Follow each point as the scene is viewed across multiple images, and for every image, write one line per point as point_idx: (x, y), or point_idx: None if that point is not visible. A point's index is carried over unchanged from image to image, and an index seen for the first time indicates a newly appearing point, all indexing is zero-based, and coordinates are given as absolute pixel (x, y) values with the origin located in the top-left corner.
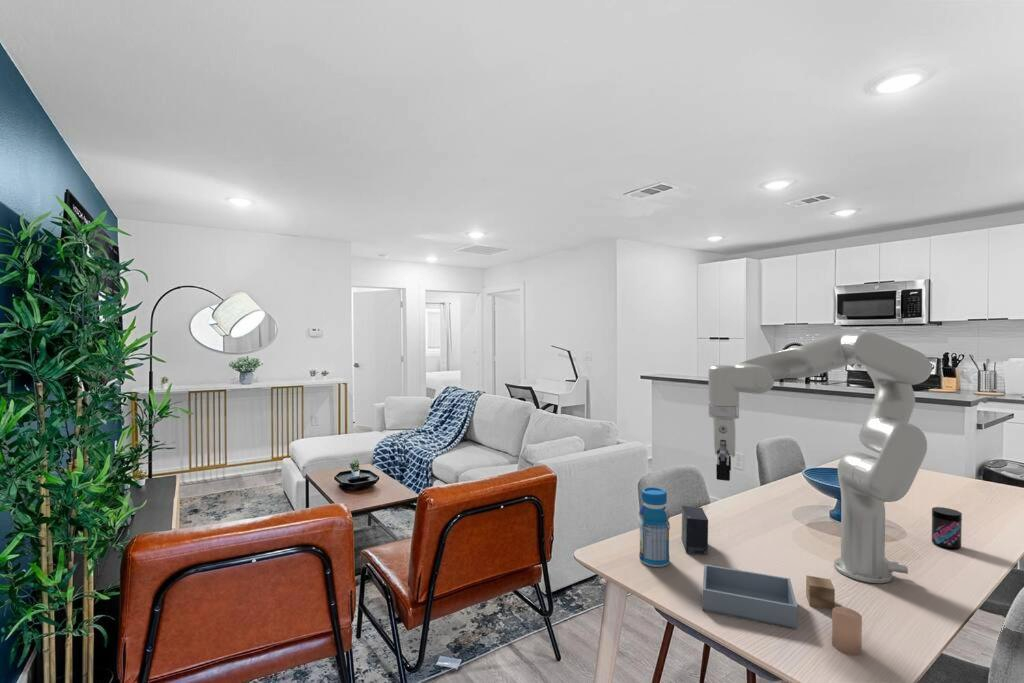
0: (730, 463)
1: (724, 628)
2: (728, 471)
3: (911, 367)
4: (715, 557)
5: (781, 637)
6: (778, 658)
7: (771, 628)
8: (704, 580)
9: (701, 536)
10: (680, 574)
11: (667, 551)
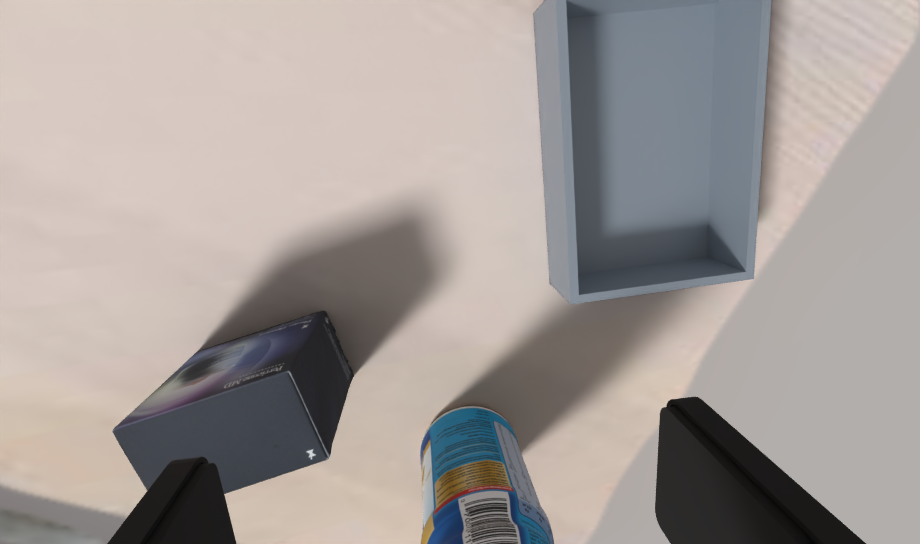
0: (150, 538)
1: (776, 196)
2: (774, 483)
3: None
4: (330, 282)
5: (773, 44)
6: (870, 52)
7: None
8: (692, 283)
9: (321, 359)
10: (521, 358)
11: (488, 432)
